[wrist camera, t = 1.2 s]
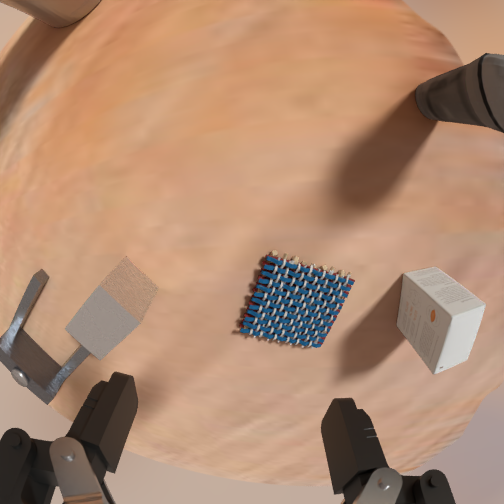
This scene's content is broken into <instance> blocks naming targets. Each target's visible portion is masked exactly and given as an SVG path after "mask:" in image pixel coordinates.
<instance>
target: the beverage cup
mask: <svg viewBox="0 0 504 504" xmlns="http://www.w3.org/2000/svg"><path fill="white" fill-rule="evenodd" d="M415 96H416V102H417V106H418V108H419V109H420V111H421V112H422V114H423V115H424V116H425V117H427V118H429V119H432V120H439V121H445V122H454V123H463V124H470V125H477V126H484V127H489V128H491V129H494V130H497V131H500V132H502V133H504V55H499V54H489V53H485V54H484V55H482V56H481V57H479V58H478V59H476V60H474V61H473V62H471V63H470V64H467V65H464V66H462V67H459V68H457V69H454V70H451V71H449V72H446V73H444V74H441V75H439V76H436V77H434V78H432V79H429V80H428V81H426V82H424V83H422V84H420V85H419V86H418V87H417V89H416V94H415Z"/></svg>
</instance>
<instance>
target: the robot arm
mask: <svg viewBox="0 0 504 504" xmlns="http://www.w3.org/2000/svg"><path fill="white" fill-rule="evenodd" d="M100 1H101V0H0V2H1V3H4V4H6V5H8V6H11V7H13V8H15V9H17V10H20V11H22V12H24V13H26V14H28V15H30V16H32V17H34V18H36V19H38V20H40V21H42V22H44V23H46V24H48V25H50V26H53V27H57V28H60V27H65V26H68V25H70V24H73V23H74V22H76V21H78V20H80V19H81V18H83V17H84V16H85V15H87V14H88V13H89V12H90V11H91V10H92V9H93V8H94V7H95V6H96V5H97V4H98V3H99V2H100ZM137 408H138V398H137V393H136V387H135V382H134V378H133V376H131V375H127V374H123V373H119V372H114V373H113V374H112V376H111V378H110V380H109V382H105V381H100V382H99V383H98V384H96V385H95V386H94V387H92V389H91V391H90V393H89V395H88V396H87V399H86V400H85V402H84V404H83V406H82V407H81V409H80V411H79V413H78V415H77V417H76V418H75V420H74V422H73V424H72V426H71V428H70V430H69V432H68V433H67V435H66V436H65V437H61V438H58V439H56V440H55V441H44V440H38V439H33V438H30V437H29V435H28V434H27V433H26V432H25V431H24V430H22V429H19V428H11V429H9V430H7V431H6V432H5V433H4V435H3V436H2V438H1V440H0V504H50V503H51V499H52V496H53V493H54V490H55V487H56V486H59V487H60V491H61V493H62V496H63V500H64V502H63V504H116V503H115V501H114V499H113V497H112V495H111V493H110V491H109V489H108V487H107V484H106V482H105V480H104V476H105V474H106V471H109V472H112V473H115V471H116V468H117V465H118V462H119V460H120V457H121V453H122V451H123V448H124V445H125V442H126V439H127V437H128V434H129V431H130V428H131V426H132V423H133V420H134V418H135V415H136V412H137ZM321 433H322V438H323V443H324V447H325V452H326V457H327V461H328V466H329V471H330V476H331V481H332V486H333V490H334V494H341V493H343V494H344V499H343V501H342V502H341V504H456V503H455V500H454V497H453V495H452V492H451V489H450V486H449V483H448V481H447V478H446V476H445V475H444V474H443V473H442V472H441V471H439V470H429V471H427V472H425V473H424V474H423V475H422V476H403V475H400V474H399V473H398V472H397V471H396V470H394V469H392V468H389V466H388V464H387V462H386V459H385V456H384V453H383V451H382V448H381V445H380V442H379V440H378V437H376V436H377V434H376V432H375V429H374V426H373V424H372V421H371V419H370V417H369V416H368V415H367V414H366V412H365V411H364V410H363V409H357V407H356V405H355V402H354V400H353V399H352V398H335V399H333V400H332V402H331V404H330V406H329V408H328V410H327V412H326V414H325V416H324V418H323V420H322V424H321Z"/></svg>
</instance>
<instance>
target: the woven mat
mask: <svg viewBox="0 0 504 504" xmlns="http://www.w3.org/2000/svg"><path fill="white" fill-rule="evenodd" d="M277 255H278V253H277V250H274V251H272V252H271V253H270V255H267V254H266V257H265V258H266V260H268V262H266V261H263V263H262V264H263V265H265V266H264V269H263V268H261V271H260V272H261V274H263V275H262V276H261V275H259V276H258V279H259V282H256V288H253V292H255V293H254V295H252V296H251V300H252V301H253V302H252V301H249V305H250V306H249V307H247V309H246V311H247V313H245V314H244V317H245V319H243V320H242V323H241V324H240V325H239V326H240V327H244V328H241V330H240V332H242V333H249V334H248V335H251V334H253V335H254V336H253V337H254V338H255V337H256V336H258V335H259V336H258V337H264V336H265V337H267V340H268V341H269V339H271V338H273V340H275V339H278V342H280V341H285V343H287V342H290V345H292V343H295V344H294V345H297V344H298V343H300V344H302V347H304V346H306V345H308V346H307V347H310V346H312V347H311V348H312V349H313V347H315V348H317V347H321V345H322V344H323V342H324V340H325V338H326V336H327V334H328V332H329V331H330V329H331V326H332V325H333V323H334V321H335V320H336V318H337V315H338V313H339V312H340V310H341V308H342V306H343V304H341V303H344V301H345V300H344V298H345V297H346V298H347V296H348V294H349V292H347V291H350V289H351V285H353V284H354V282H355V280H353V279H350V276H351V272H349V273H348V274H347V276H346V277H345V276H344V275H345V271H343V270H339V272H338V273H333V272H334V270H335V268H334V267H331V268H330V270H329V272H327V271H326V270H327V269H328V268H327V266H326V265H324V266H321V268H320V269H316V267H317V266H316V265H315V264H311V265H310V266H306V264H307V262H304V261H302V263H299V262H298V261H299V257H297V256H294V257H292V260H287V256H288V254H287V253H285V254H284V256H283V258H278V257H277ZM273 263H275V264H276V265H275V264H273ZM284 266H287V268H286V267H284ZM295 269H296V270H295ZM271 270H274V271H271ZM282 273H284V274H282ZM291 276H293V277H291ZM324 277H325V278H324ZM302 279H305V280H302ZM331 279H335V280H334V281H333V280H331ZM311 281H314V282H311ZM289 282H291V283H289ZM341 282H343V283H341ZM266 284H269V285H266ZM348 284H350V285H348ZM301 285H302V286H301ZM278 287H279V288H278ZM318 290H320V291H318ZM326 292H328V293H326ZM305 294H308V295H305ZM263 297H264V298H263ZM322 298H324V299H322ZM330 300H331V301H330ZM333 301H334V302H333ZM339 309H340V310H339ZM273 340H272V341H273Z"/></svg>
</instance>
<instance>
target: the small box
mask: <svg viewBox="0 0 504 504" xmlns="http://www.w3.org/2000/svg"><path fill="white" fill-rule="evenodd" d="M485 306H486V304H485V303H484V302H483V301H481V300H480V299H479V298H478V297H476V296H475V295H474V294H472V293H471V292H470V291H469V290H467V289H466V288H465V287H463V286H462V285H461V284H459V283H458V282H457V281H455V280H454V279H453V278H451V277H450V276H448V275H447V274H446V273H444V272H443V271H442V270H440V269H439V268H437V267H431V268H426V269H421V270H416V271H412V272H407V273H404V274H403V281H402V290H401V298H400V305H399V312H398V319H397V324H396V325H397V327H398V328H399V330H400V331H401V332H402V334H403V335H404V336H405V337H406V339H407V340H408V341H409V343H410V344H411V345H412V347H413V348H414V349H415V351H416V352H417V353H418V355H419V356H420V357H421V358H422V360H423V361H424V363H425V364H426V365H427V367H428V368H429V369H430V371H431V372H432V374H437V373H439V372H442V371H444V370H446V369H449V368H451V367H453V366H455V365H458V364H460V363H462V362H464V361H466V360H467V359H468V356H469V354H470V351H471V349H472V346H473V343H474V340H475V338H476V335H477V332H478V329H479V326H480V322H481V319H482V316H483V313H484V309H485Z"/></svg>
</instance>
